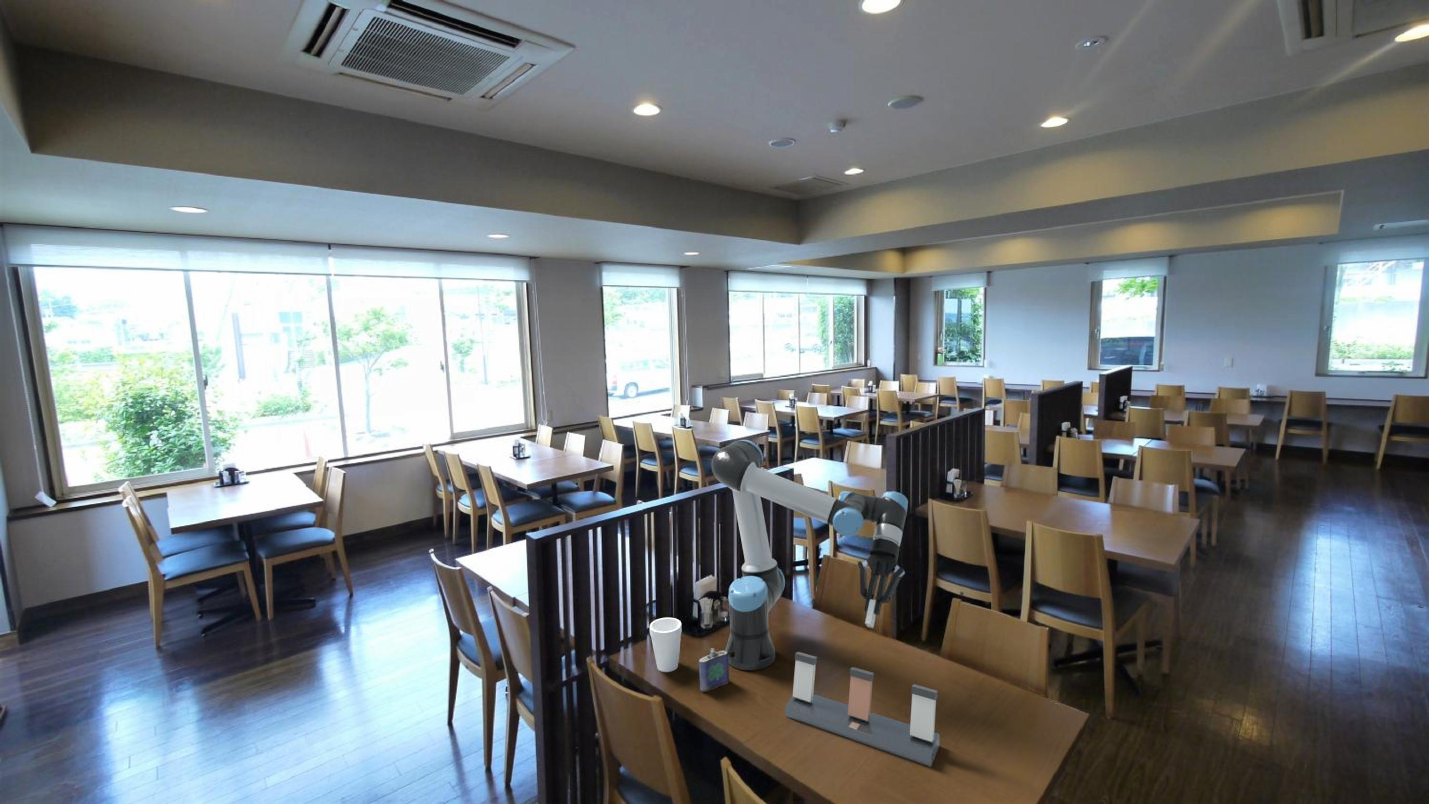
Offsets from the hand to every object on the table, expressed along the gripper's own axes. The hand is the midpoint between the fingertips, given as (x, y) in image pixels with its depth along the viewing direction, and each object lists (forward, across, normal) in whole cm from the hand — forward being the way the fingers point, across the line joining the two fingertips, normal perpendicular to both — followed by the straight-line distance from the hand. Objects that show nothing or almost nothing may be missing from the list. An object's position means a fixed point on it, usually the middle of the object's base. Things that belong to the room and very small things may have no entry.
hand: (869, 625), depth 154 cm
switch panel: (+24, -1, -6) cm, 25 cm away
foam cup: (+23, +58, -4) cm, 63 cm away
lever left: (+21, +14, -3) cm, 26 cm away
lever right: (+22, -16, -4) cm, 27 cm away
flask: (+25, +40, -4) cm, 47 cm away
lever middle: (+21, -1, -3) cm, 22 cm away
